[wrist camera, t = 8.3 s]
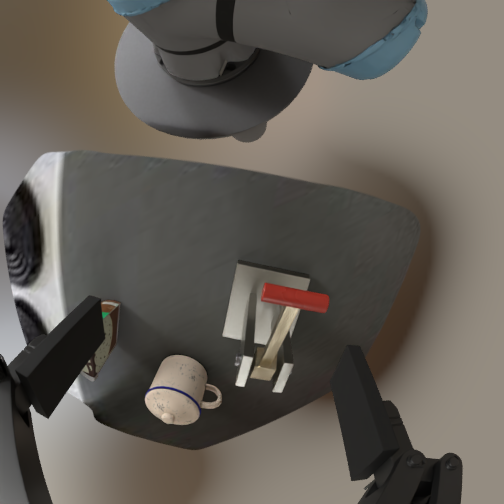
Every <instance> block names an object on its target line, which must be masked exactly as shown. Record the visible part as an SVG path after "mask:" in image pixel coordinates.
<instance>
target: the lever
mask: <svg viewBox="0 0 504 504" xmlns="http://www.w3.org/2000/svg"><path fill="white" fill-rule="evenodd" d="M261 301H262V302H266V303H271V304H277V305H282V306H283V307H282V309H281V311H280V314H279V316H278V318H277V321H276V323H275V325H274V328H273V330H272V332H271V335H270V337H269V339H268V341H267V344H266V346H265V348H260V347H257V349H256V351H255V354H254V357H253V361H252V365H251V373H250V378H256V379H262V380H269V381H270V380H271V378H272V376H273V375H274V373H275V371H276V369H277V355H278V350H279V348H280V346H281V345H282V343H283V341H284V339H285V337H286V335H287V333H288V331H289V329H290V327H291V325H292V323H293V321H294V319H295V317H296V315H297V313H298V311H299V309H303V310H308V311H314V312H320V313H325V312H326V311H327V309H328V306H329V296H328V295H326V294H320V293H315V292H310V291H305V290H300V289H295V288H290V287H285V286H280V285H275V284H271V283H264V285H263V289H262V294H261Z"/></svg>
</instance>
